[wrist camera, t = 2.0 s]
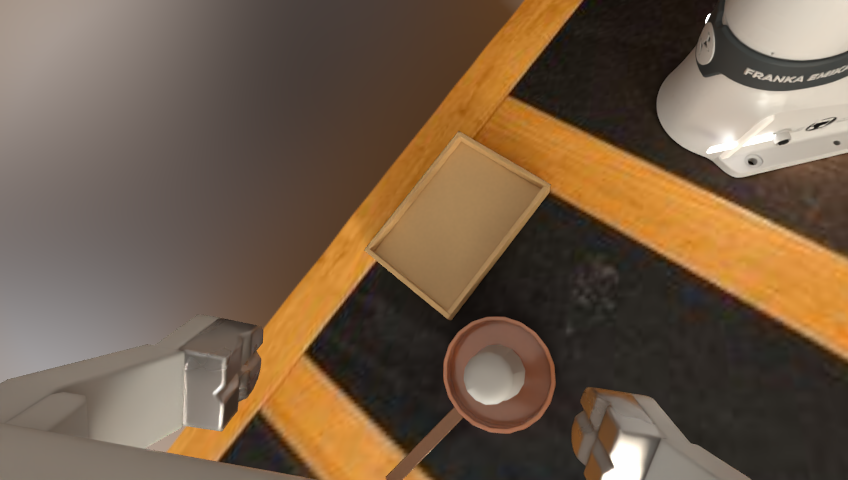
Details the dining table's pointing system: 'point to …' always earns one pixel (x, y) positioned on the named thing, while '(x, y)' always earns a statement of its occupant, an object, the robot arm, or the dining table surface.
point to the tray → (457, 223)
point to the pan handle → (425, 446)
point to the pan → (536, 382)
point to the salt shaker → (494, 375)
